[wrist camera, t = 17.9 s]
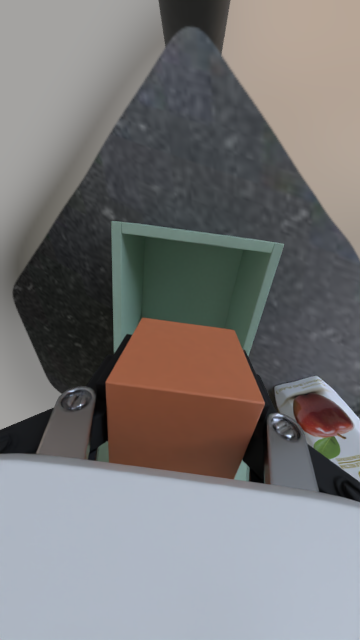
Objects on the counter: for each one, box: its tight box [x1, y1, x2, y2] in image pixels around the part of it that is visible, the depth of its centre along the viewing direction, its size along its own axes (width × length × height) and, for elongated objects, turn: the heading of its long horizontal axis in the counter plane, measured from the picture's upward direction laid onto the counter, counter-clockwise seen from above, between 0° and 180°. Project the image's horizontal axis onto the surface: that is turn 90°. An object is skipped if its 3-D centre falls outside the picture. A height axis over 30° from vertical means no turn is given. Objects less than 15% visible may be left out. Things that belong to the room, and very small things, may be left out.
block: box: [105, 318, 265, 479], centre depth 9 cm, size 5×5×5 cm
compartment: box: [111, 221, 284, 356], centre depth 23 cm, size 16×14×10 cm
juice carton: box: [274, 376, 360, 482], centre depth 25 cm, size 8×9×19 cm
